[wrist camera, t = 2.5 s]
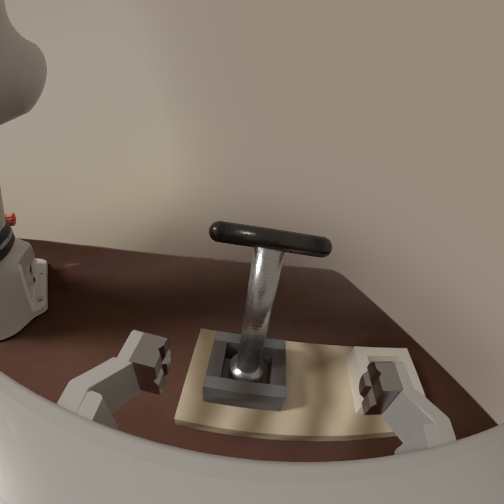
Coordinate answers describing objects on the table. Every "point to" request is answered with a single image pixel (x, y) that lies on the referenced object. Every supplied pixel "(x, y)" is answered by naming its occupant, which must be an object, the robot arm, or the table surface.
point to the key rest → (366, 355)
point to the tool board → (275, 393)
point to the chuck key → (262, 285)
